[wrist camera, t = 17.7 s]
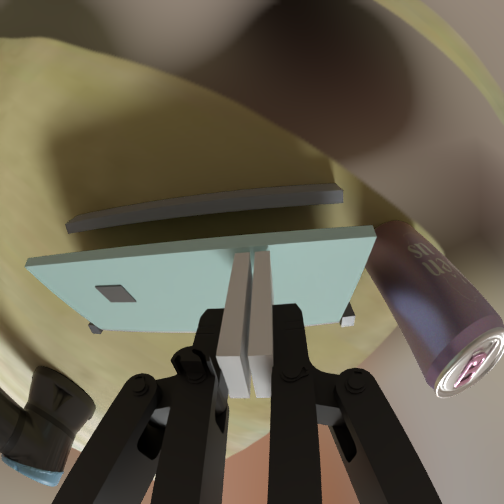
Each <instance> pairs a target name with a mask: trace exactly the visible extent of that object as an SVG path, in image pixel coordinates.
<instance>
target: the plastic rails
mask: <svg viewBox="0 0 504 504" xmlns="http://www.w3.org/2000/svg"><path fill="white" fill-rule="evenodd" d="M335 203H343V190H342V189H341V188H340V187H339V186H338V185H337V184H336V183H330V184H310V185H294V186H280V187H268V188H256V189H246V190H236V191H226V192H217V193H209V194H201V195H193V196H186V197H179V198H172V199H165V200H158V201H152V202H146V203H140V204H134V205H128V206H123V207H117V208H112V209H106V210H101V211H96V212H91V213H87V214H82V215H77V216H76V217H74V218H73V219H71V220H70V221H69V222H67V223H66V224H65V225H66V229H67V232H68V234H70V233H76V232H82V231H87V230H93V229H100V228H106V227H112V226H119V225H126V224H132V223H139V222H147V221H154V220H162V219H169V218H177V217H186V216H194V215H203V214H212V213H221V212H231V211H242V210H252V209H264V208H276V207H289V206H303V205H318V204H335ZM354 320H355V314H354V312H353V309H352V307H351V304H350V302H349V303H348V305H347V307H346V309H345V311H344V313H343V315H342V317H341V319H340V321H339V322H340V325H341V327H346V326H353V325H354ZM88 326H89V328H90V329H91V331H92V333H95V334H101V333H102V331H103V330H101V329H100V328H98V327H97V326H95V325H94V324H93V323H91V322H90V323H89V325H88Z"/></svg>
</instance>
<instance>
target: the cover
mask: <svg viewBox="0 0 504 504" xmlns="http://www.w3.org/2000/svg"><path fill="white" fill-rule="evenodd" d="M376 237H377V236H376V233H375V230H374V228H373V225H368V226H352V227H338V228H324V229H310V230H297V231H284V232H272V233H260V234H248V235H237V236H225V237H214V238H204V239H193V240H183V241H173V242H163V243H153V244H144V245H134V246H125V247H116V248H107V249H99V250H90V251H81V252H73V253H65V254H57V255H49V256H41V257H34V258H28V260H27V262H26V264H25V268H26V269H27V270H28V271H29V272H30V273H32V274H33V275H34V276H35V277H36V278H37V279H38V280H39V281H40V282H41V283H43V284H44V285H45V286H46V287H47V288H48V289H49V290H51V291H52V292H53V293H54V294H55V295H57V296H58V297H59V298H60V299H61V300H63V301H64V302H65V303H66V304H68V305H69V306H70V307H71V308H73V309H74V310H75V311H77V312H78V313H79V314H80V315H82V316H83V317H84V318H86V319H87V320H88V321H90V322H91V323H93V324H94V325H95V326H97V327H98V328H100V329H101V330H110V331H129V332H167V333H193V332H196V331H197V328H198V324H199V320H200V317H201V316H202V314H203V313H204V312H205V311H206V310H207V309H216V308H225V303H226V297H227V292H228V286H229V281H230V276H231V270H232V265H233V260H234V255H235V253H245V252H250V258H251V266H252V274H253V271H254V256H255V252H258V251H270V258H271V269H272V281H273V293H274V305H277V304H290V303H296V304H297V305H298V307H299V308H300V309H301V310H302V315H303V322H304V326H314V325H323V324H331V323H339V321H340V319H341V317H342V315H343V313H344V311H345V309H346V307H347V305H348V303H349V301H350V299H351V296H352V294H353V292H354V290H355V288H356V285H357V283H358V281H359V279H360V276H361V274H362V272H363V269H364V267H365V265H366V262H367V260H368V258H369V255H370V253H371V250H372V248H373V245H374V243H375V240H376Z"/></svg>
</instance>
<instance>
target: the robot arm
mask: <svg viewBox="0 0 504 504" xmlns="http://www.w3.org/2000/svg"><path fill="white" fill-rule="evenodd" d="M171 362H172V364H173V366H174V368H175V370H176V372H177V375H175V376H172V377H168V378H163V379H159V380H155V379H154V377H152V376H151V375H149V374H143V373H141V374H136V375H134V376H132V377H131V378H129V380H128V381H127V382H126V383H125V384H124V386H123V387H122V389H121V391H120V392H119V394H118V395H117V397H116V398H115V400H114V401H113V403H112V404H111V406H110V408H109V409H108V411H107V412H106V414H105V415H104V417H103V418H102V420H101V422H100V423H99V425H98V426H97V428H96V430H95V431H94V433H93V434H92V436H91V438H90V439H89V441H88V443H87V444H86V446H85V447H84V449H83V451H82V452H81V454H80V456H79V457H78V459H77V461H76V463H75V464H74V466H73V467H72V469H71V471H70V472H69V474H68V476H67V478H66V479H65V481H64V483H63V484H62V486H61V488H60V490H59V491H58V493H57V495H56V497H55V499H54V500H53V502H52V504H141V502H142V500H143V498H144V496H145V494H146V492H147V490H148V488H149V486H150V484H151V482H152V480H153V478H154V476H155V474H156V477H155V482H154V487H153V493H152V499H151V504H222V492H223V479H224V467H225V455H226V443H227V431H228V419H229V406H228V403H227V399H228V393H229V396H230V398H250V385H251V374H252V379H253V384H254V389H255V393H256V398H269V397H271V418H270V452H269V453H270V454H269V481H268V501H267V504H322V491H321V471H320V470H321V469H320V452H319V438H318V425H317V424H323V425H328V427H329V429H330V431H331V434H332V436H333V439H334V441H335V444H336V446H337V449H338V451H339V454H340V456H341V458H342V461H343V463H344V466H345V468H346V471H347V473H348V475H349V478H350V481H351V483H352V485H353V488H354V490H355V493H356V495H357V498H358V500H359V503H360V504H442V502H441V500H440V498H439V496H438V494H437V492H436V490H435V488H434V486H433V484H432V482H431V480H430V478H429V476H428V474H427V472H426V470H425V468H424V466H423V464H422V463H421V461H420V459H419V457H418V455H417V453H416V451H415V449H414V447H413V446H412V444H411V442H410V440H409V438H408V436H407V434H406V433H405V431H404V429H403V427H402V425H401V424H400V422H399V420H398V418H397V416H396V415H395V413H394V411H393V409H392V408H391V406H390V404H389V402H388V401H387V399H386V397H385V395H384V394H383V392H382V390H381V389H380V387H379V385H378V384H377V382H376V380H375V378H374V377H373V376H372V375H371V374H370V372H368V371H366V370H364V369H360V368H352V369H347V370H345V371H344V372H342V373H341V374H340V375H337V374H330V373H325V372H322V371H320V370H318V369H316V368H315V367H314V366H313V365H312V364H311V362H310V360H309V357H308V349H307V342H306V335H305V329H304V322H303V315H302V310H301V309H300V308H299V307H298V305H297V304H296V303H290V304H277V305H274V293H273V281H272V269H271V258H270V251H258V252H255V256H254V271H253V274H252V266H251V258H250V252H245V253H235V255H234V260H233V265H232V270H231V276H230V281H229V286H228V292H227V297H226V303H225V308H216V309H207V310H206V311H205V312H204V313H203V314H202V316H201V317H200V320H199V324H198V328H197V331H196V335H195V339H194V342H193V346H189V347H185V348H182V349H180V350H179V351H177V352H176V353H175V354H174V355H173V357H172V359H171ZM95 409H96V406H95V404H94V402H93V401H92V399H91V398H90V397H89V396H88V395H87V394H86V393H85V392H84V391H83V390H82V389H81V388H79V387H78V386H77V385H76V384H74V383H73V382H72V381H70V380H69V379H67V378H66V377H64V376H63V375H61V374H59V373H58V372H56V371H54V370H52V369H49V368H46V367H42V366H40V367H37V369H36V370H35V372H34V373H33V376H32V382H31V387H30V392H29V398H28V402H27V404H26V405H25V407H24V409H23V408H22V407H20V406H19V405H18V404H17V403H16V402H15V401H14V400H13V399H12V398H11V397H10V396H9V395H8V394H7V393H5V392H4V391H3V390H2V389H1V388H0V452H1V453H2V461H3V462H4V463H6V464H7V465H8V466H10V467H12V468H13V469H15V470H16V471H18V472H20V473H21V474H23V475H25V476H27V477H29V478H31V479H33V480H35V481H37V482H39V483H42V484H44V485H47V486H56V485H57V484H58V483H59V480H60V478H61V475H62V474H63V472H64V471H63V470H64V467H65V464H66V461H67V458H68V455H69V452H70V449H71V447H72V444H73V441H74V438H75V436H76V434H77V432H78V431H79V430H80V429H81V428H82V427H83V425H84V424H85V423H86V422H87V420H89V419H91V418H92V416H93V414H94V411H95Z"/></svg>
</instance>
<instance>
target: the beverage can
mask: <svg viewBox="0 0 504 504" xmlns="http://www.w3.org/2000/svg"><path fill="white" fill-rule="evenodd" d="M374 230H375V233H376V236H377V237H376V240H375V243H374V245H373V248H372V250H371V253H370V255H369V258H368V260H367V262H366V265H365V268H366V270H367V271H368V273H369V275H370V276H371V278H372V280H373V281H374V283H375V285H376V286H377V288H378V290H379V291H380V293H381V295H382V297H383V298H384V300H385V302H386V304H387V305H388V307H389V309H390V311H391V312H392V314H393V316H394V318H395V320H396V322H397V323H398V325H399V327H400V329H401V331H402V333H403V335H404V337H405V339H406V340H407V342H408V344H409V346H410V348H411V350H412V352H413V354H414V356H415V358H416V360H417V363H418V365H419V367H420V369H421V371H422V373H423V375H424V377H425V380H426V382H427V384H428V385H429V386H430V387H432V388H433V389H434V392H435V394H436V395H437V397H439V398H448V397H452V396H455V395H457V394H459V393H461V392H463V391H465V390H467V389H468V388H470V387H471V386H473V385H474V384H476V383H477V382H478V381H479V380H481V379H482V378H483V377H484V376H485V375H486V374H487V373H488V372H489V371H490V370H491V369H492V368H493V367H494V366H495V365H496V363H497V362H498V361H499V359H500V358H501V356H502V355H503V353H504V325H503V321H502V319H501V317H500V316H499V315H498V313H497V312H496V311H495V310H494V309H493V307H492V306H491V305H490V304H489V303H488V302H487V300H486V299H485V298H484V297H483V296H482V295H481V294H480V293H479V291H478V290H477V289H476V288H475V287H474V286H473V285H472V284H471V283H470V282H469V281H468V279H467V278H465V276H464V275H463V274H462V273H461V272H460V271H459V270H458V269H457V268H456V267H455V266H454V265H453V264H452V263H451V262H450V261H449V260H448V259H447V258H446V257H445V256H444V255H443V254H442V253H440V252H439V251H438V250H437V249H436V248H435V247H434V246H433V245H432V244H431V243H430V242H429V241H427V240H426V239H425V238H424V237H423V236H422V235H421V234H420V233H418V232H417V231H416V230H415V229H414V228H413V227H412V226H410V225H409V224H408V223H406V222H403V221H389V222H386V223H384V224H381V225H380V226H378V227H377V228H376V229H374Z"/></svg>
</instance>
